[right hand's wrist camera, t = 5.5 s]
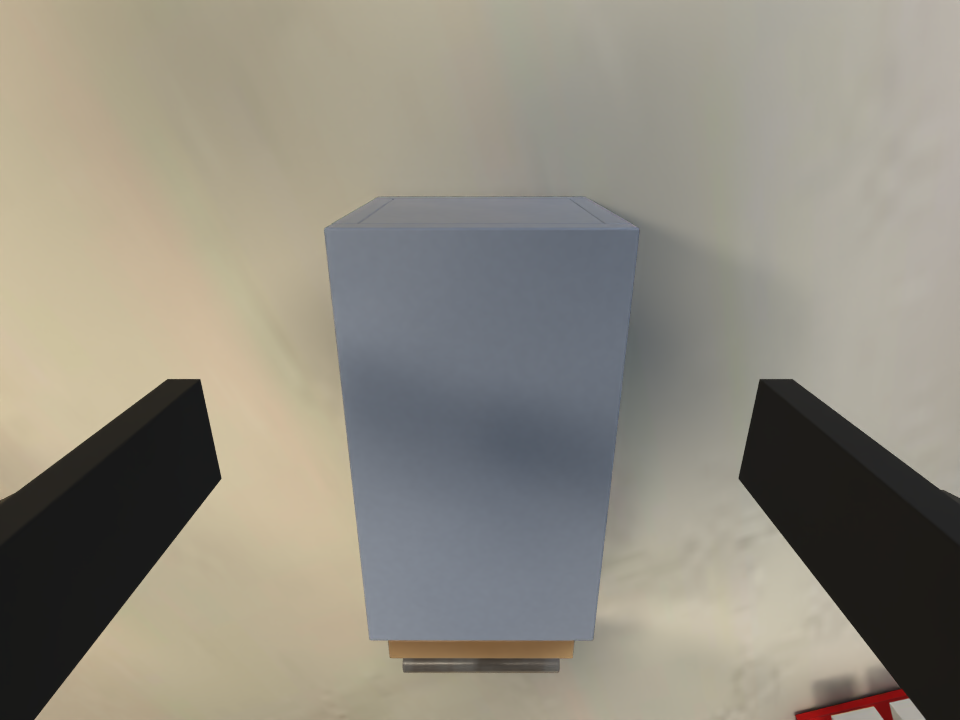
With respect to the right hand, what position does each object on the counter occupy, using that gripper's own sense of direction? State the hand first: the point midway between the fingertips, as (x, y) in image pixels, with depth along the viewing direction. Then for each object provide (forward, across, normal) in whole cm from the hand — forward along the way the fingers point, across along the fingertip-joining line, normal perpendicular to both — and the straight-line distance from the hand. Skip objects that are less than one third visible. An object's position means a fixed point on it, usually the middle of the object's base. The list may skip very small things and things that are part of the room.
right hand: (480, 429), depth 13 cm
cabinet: (+15, 0, -5) cm, 16 cm away
